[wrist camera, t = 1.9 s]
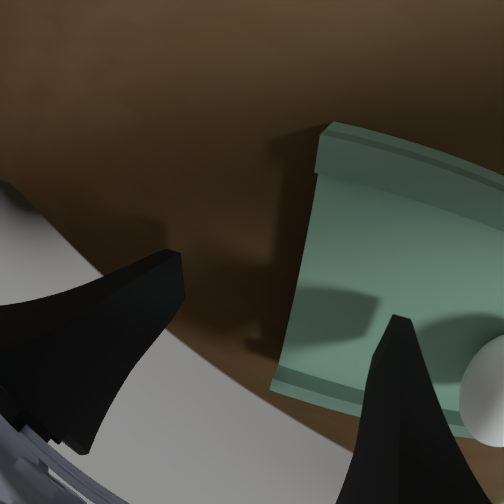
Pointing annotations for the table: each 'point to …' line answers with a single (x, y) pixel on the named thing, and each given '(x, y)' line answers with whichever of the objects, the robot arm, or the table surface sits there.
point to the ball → (484, 394)
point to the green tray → (393, 267)
